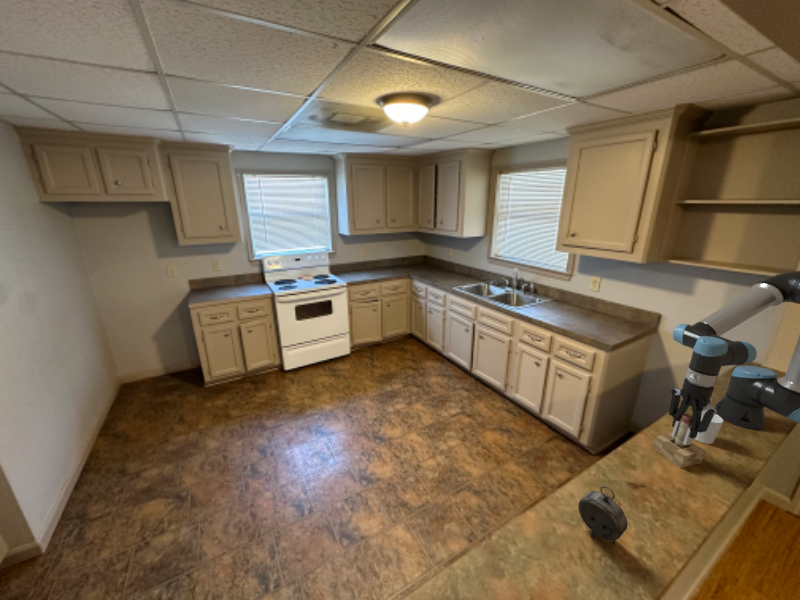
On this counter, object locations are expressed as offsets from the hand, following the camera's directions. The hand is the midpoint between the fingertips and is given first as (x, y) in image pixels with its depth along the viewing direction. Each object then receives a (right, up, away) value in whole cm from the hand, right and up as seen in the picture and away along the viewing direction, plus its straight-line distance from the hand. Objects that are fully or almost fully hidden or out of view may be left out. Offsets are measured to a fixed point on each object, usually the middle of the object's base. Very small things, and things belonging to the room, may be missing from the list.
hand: (680, 439), depth 118 cm
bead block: (0, -6, +2) cm, 7 cm away
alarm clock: (-46, -15, -26) cm, 55 cm away
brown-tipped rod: (0, -6, +2) cm, 6 cm away
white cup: (+17, -4, +11) cm, 21 cm away
